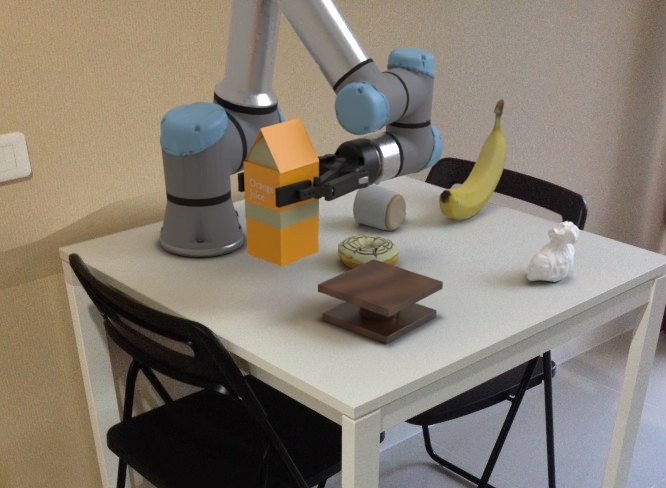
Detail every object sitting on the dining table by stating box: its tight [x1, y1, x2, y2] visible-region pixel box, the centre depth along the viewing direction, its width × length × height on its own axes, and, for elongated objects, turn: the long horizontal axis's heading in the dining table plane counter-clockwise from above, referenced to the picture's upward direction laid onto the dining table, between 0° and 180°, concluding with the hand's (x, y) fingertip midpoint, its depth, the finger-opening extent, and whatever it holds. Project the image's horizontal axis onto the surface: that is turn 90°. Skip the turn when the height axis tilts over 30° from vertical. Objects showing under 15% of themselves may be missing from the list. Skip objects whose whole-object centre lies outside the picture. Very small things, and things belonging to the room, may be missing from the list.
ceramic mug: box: [352, 184, 407, 232], centre depth 188 cm, size 11×8×8 cm
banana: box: [438, 99, 507, 221], centre depth 191 cm, size 23×6×20 cm, turn 146°
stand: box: [317, 259, 444, 345], centre depth 154 cm, size 14×14×6 cm
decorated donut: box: [337, 234, 400, 269], centre depth 174 cm, size 10×11×4 cm
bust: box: [526, 220, 580, 283], centre depth 168 cm, size 12×8×11 cm
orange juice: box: [243, 117, 320, 268], centre depth 150 cm, size 8×9×20 cm
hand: (258, 190), depth 147 cm, fingers closed on orange juice, 8 cm apart
